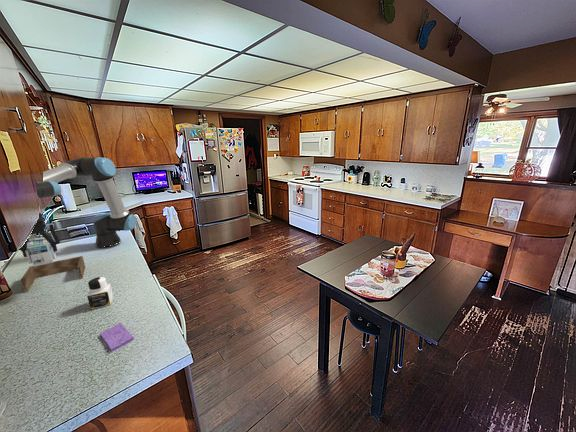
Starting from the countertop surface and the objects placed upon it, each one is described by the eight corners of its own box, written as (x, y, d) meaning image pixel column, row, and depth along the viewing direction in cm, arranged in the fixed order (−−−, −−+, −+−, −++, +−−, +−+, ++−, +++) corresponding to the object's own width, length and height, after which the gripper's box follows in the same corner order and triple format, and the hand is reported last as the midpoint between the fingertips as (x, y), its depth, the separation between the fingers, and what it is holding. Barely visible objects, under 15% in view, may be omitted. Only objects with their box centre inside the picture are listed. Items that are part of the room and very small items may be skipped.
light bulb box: (53, 262, 111) (47, 241, 108) (33, 267, 106) (26, 245, 104) (52, 256, 118) (47, 236, 115) (33, 260, 113) (27, 239, 111)
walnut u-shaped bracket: (85, 266, 140) (82, 255, 138) (82, 278, 126) (79, 266, 125) (33, 278, 127) (30, 266, 126) (25, 292, 114) (20, 279, 112)
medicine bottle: (90, 309, 101) (83, 285, 98) (94, 301, 107) (88, 277, 104) (110, 305, 104) (104, 281, 101) (113, 296, 110) (108, 273, 107)
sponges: (112, 353, 80) (110, 349, 79) (100, 336, 87) (99, 332, 86) (134, 340, 85) (133, 336, 84) (122, 325, 92) (121, 321, 92)
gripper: (-8, 219, 98) (9, 269, 103) (58, 212, 109) (70, 257, 115) (-1, 215, 104) (14, 263, 109) (61, 209, 115) (72, 252, 121)
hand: (43, 260), depth 112 cm, fingers closed on light bulb box, 7 cm apart
